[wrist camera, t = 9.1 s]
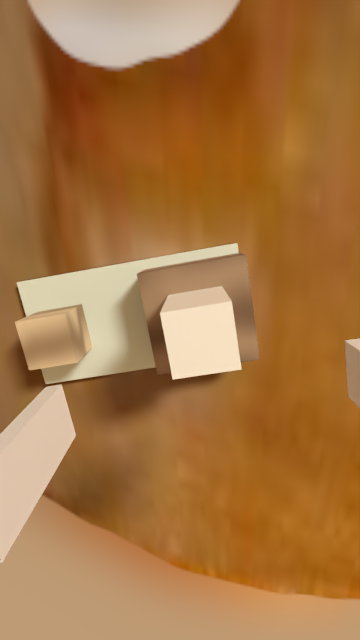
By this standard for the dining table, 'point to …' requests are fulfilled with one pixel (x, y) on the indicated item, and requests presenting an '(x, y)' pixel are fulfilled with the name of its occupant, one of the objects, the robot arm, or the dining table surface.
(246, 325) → the plinth
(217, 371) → the white block
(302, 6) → the dining table surface
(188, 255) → the build board
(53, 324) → the oak cube
